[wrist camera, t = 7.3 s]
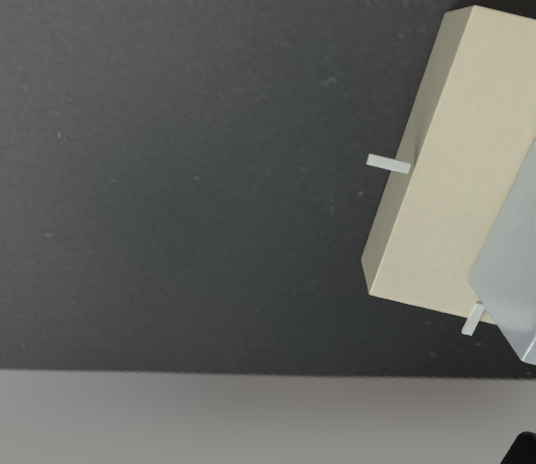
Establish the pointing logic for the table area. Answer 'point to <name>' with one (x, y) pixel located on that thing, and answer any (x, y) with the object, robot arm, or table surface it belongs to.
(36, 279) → the table surface
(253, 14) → the table surface
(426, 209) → the tap base
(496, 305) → the tap handle
